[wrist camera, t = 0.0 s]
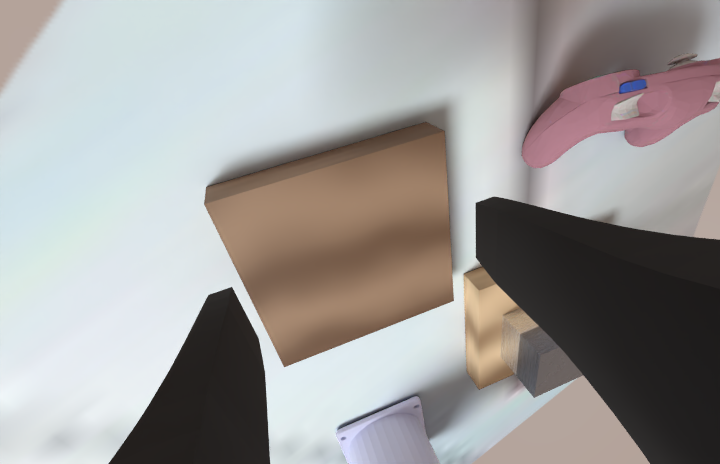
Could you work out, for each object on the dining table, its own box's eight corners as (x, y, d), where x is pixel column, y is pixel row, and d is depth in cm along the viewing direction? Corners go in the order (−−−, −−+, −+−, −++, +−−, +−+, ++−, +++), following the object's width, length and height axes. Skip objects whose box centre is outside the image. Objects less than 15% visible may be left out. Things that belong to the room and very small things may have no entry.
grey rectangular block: (580, 321, 31) (622, 357, 28) (500, 356, 30) (534, 397, 27) (589, 279, 28) (637, 313, 25) (502, 315, 27) (540, 355, 24)
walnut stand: (439, 283, 26) (453, 300, 25) (280, 343, 24) (284, 367, 23) (426, 121, 20) (444, 131, 18) (206, 187, 18) (204, 204, 16)
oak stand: (575, 324, 35) (592, 339, 33) (466, 371, 33) (479, 389, 31) (597, 223, 28) (620, 235, 27) (463, 274, 26) (479, 290, 25)
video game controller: (628, 81, 25) (765, 30, 18) (635, 147, 25) (772, 123, 18) (504, 99, 22) (608, 49, 16) (515, 172, 23) (620, 154, 16)
